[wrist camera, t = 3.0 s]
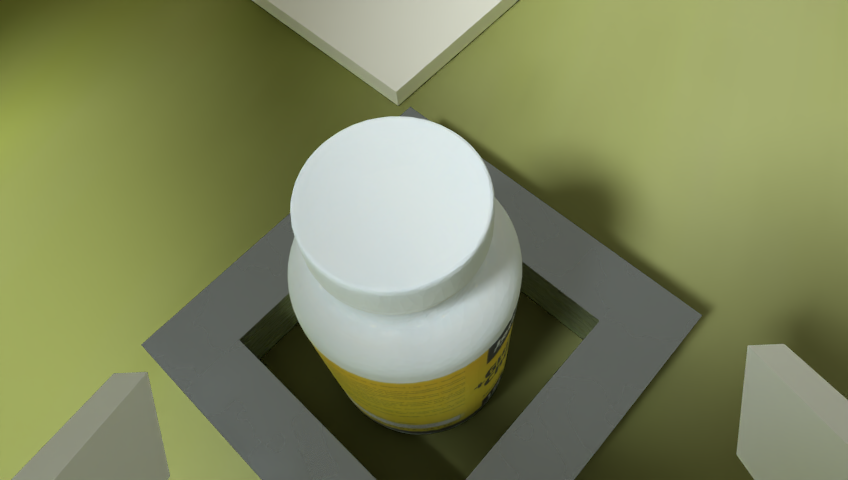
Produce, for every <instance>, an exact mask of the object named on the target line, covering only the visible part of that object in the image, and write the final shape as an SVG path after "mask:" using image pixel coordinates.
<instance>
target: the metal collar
mask: <svg viewBox="0 0 848 480" xmlns="http://www.w3.org/2000/svg"><path fill="white" fill-rule="evenodd" d="M400 116H404V117H414V118H419V119H425V120H428V119H427V118H425V117H424V116H422V115H421V114H420V113H418V112H417V111H415V110H414V109H413V108H411V107H409V108H408V109H407V110H406V111H405V112H404V113H403V114H402V115H400ZM428 121H429V120H428ZM482 160H483V161H484V163H485V165H486V167H487V169H488V171H489V174H490V176H491V180H492V184H493V188H494V194H495V198H496V199H497V200H498V201H499V203H500V204H501V205H502V207H503V208H504V210H505V211H506V213H507V214H508V216H509V218H510V220H511V222H512V224H513V226H514V228H515V231H516V234H517V237H518V240H519V244H520V249H521V256H522V281H521V288H520V290H521V291H522V292H523V293H525V294H526V295H527V296H528V297H530V298H531V299H532V300H533V301H535V302H536V303H537V304H539V305H540V306H541V307H542V308H544V309H545V310H546V311H547V312H549V313H550V314H551V315H552V316H554V317H555V318H556V319H558V320H559V321H560V322H561V323H563V324H564V325H565V326H566V327H568V328H569V329H570V330H572V331H573V332H574V333H575V334H577V335H578V336H579V337H580V338H582V339H583V341H582V342H581V343H580V345H579V346H578V347H577V348H576V349H575V350H574V352H573V353H572V354H571V355H570V356H569V358H568V359H567V360H566V361H565V362H564V364H563V365H562V366H561V367H560V368H559V369H558V371H557V372H556V373H555V374H554V375H553V377H552V378H551V379H550V380H549V381H548V382H547V384H546V385H545V386H544V387H543V388H542V390H541V391H540V392H539V393H538V394H537V396H536V397H535V398H534V399H533V400H532V401H531V403H530V404H529V405H528V406H527V407H526V409H525V410H524V411H523V412H522V413H521V414H520V416H519V417H518V418H517V419H516V420H515V422H514V423H513V424H512V425H511V426H510V427H509V429H508V430H507V431H506V432H505V433H504V435H503V436H502V437H501V438H500V439H499V441H498V442H497V443H496V444H495V445H494V446H493V448H492V449H491V450H490V451H489V452H488V454H487V455H486V456H485V457H484V458H483V459H482V461H481V462H480V463H479V464H478V465H477V467H476V468H475V469H474V470H473V471H472V473H471V474H470V475H469V476H468V477H467V478H466V480H574V479H575V478H576V477H577V475H578V474H579V473H580V472H581V470H582V469H583V468H584V466H585V465H586V464H587V463H588V461H589V460H590V459H591V457H592V456H593V455H594V454H595V452H596V451H597V450H598V448H599V447H600V446H601V445H602V443H603V442H604V441H605V439H606V438H607V437H608V436H609V434H610V433H611V432H612V431H613V429H614V428H615V427H616V425H617V424H618V423H619V422H620V420H621V419H622V418H623V416H624V415H625V414H626V413H627V411H628V410H629V409H630V407H631V406H632V405H633V404H634V402H635V401H636V400H637V398H638V397H639V396H640V395H641V393H642V392H643V391H644V389H645V388H646V387H647V386H648V384H649V383H650V382H651V380H652V379H653V378H654V377H655V375H656V374H657V373H658V371H659V370H660V369H661V368H662V366H663V365H664V364H665V362H666V361H667V360H668V359H669V357H670V356H671V355H672V353H673V352H674V351H675V350H676V348H677V347H678V346H679V344H680V343H681V342H682V341H683V339H684V338H685V337H686V335H687V334H688V333H689V332H690V330H691V329H692V328H693V327H694V325H695V324H696V323H697V321H698V320H699V319H700V318H701V316H702V315H701V314H700V313H698V312H697V311H695V310H694V309H693V308H691V307H690V306H688V305H687V304H686V303H684V302H683V301H681V300H680V299H679V298H677V297H676V296H674V295H673V294H672V293H670V292H669V291H667V290H666V289H665V288H663V287H662V286H660V285H659V284H658V283H656V282H655V281H653V280H652V279H651V278H649V277H648V276H646V275H645V274H644V273H642V272H641V271H639V270H638V269H637V268H635V267H634V266H632V265H631V264H630V263H628V262H627V261H625V260H624V259H623V258H621V257H620V256H618V255H617V254H616V253H614V252H613V251H611V250H610V249H609V248H607V247H606V246H604V245H603V244H602V243H600V242H599V241H597V240H596V239H595V238H593V237H592V236H590V235H589V234H588V233H586V232H585V231H583V230H582V229H581V228H579V227H578V226H576V225H575V224H574V223H572V222H571V221H569V220H568V219H567V218H565V217H564V216H562V215H561V214H560V213H558V212H557V211H555V210H554V209H553V208H551V207H550V206H548V205H547V204H546V203H544V202H543V201H541V200H540V199H539V198H537V197H536V196H534V195H533V194H532V193H530V192H529V191H527V190H526V189H525V188H523V187H522V186H520V185H519V184H518V183H516V182H515V181H513V180H512V179H511V178H509V177H508V176H506V175H505V174H504V173H502V172H501V171H499V170H498V169H497V168H495V167H494V166H492V165H491V164H490V163H488V162H487V161H485V160H484V159H483V158H482ZM294 237H295V236H294V233H293V229H292V224H291V214H289V215H287V216H286V217H285V218H284V219H283V220H282V221H281V222H279V223H278V224H277V225H276V226H275V227H274V228H273V229H272V230H270V231H269V232H268V233H267V234H266V235H265V236H264V237H263V238H261V239H260V240H259V241H258V242H257V243H256V244H255V245H253V246H252V247H251V248H250V249H249V250H248V251H247V252H246V253H244V254H243V255H242V256H241V257H240V258H239V259H238V260H237V261H235V262H234V263H233V264H232V265H231V266H230V267H229V268H228V269H226V270H225V271H224V272H223V273H222V274H221V275H220V276H218V277H217V278H216V279H215V280H214V281H213V282H212V283H211V284H209V285H208V286H207V287H206V288H205V289H204V290H203V291H202V292H200V293H199V294H198V295H197V296H196V297H195V298H194V299H192V300H191V301H190V302H189V303H188V304H187V305H186V306H185V307H183V308H182V309H181V310H180V311H179V312H178V313H177V314H176V315H174V316H173V317H172V318H171V319H170V320H169V321H168V322H166V323H165V324H164V325H163V326H162V327H161V328H160V329H159V330H157V331H156V332H155V333H154V334H153V335H152V336H151V337H150V338H148V339H147V340H146V341H145V342H144V343H143V344H142V346H143V347H144V348H145V350H146V351H147V352H148V353H149V354H150V355H151V356H152V357H153V359H154V360H155V361H156V362H157V363H158V364H159V365H160V366H161V368H162V369H163V370H164V371H165V372H166V373H167V374H168V375H169V376H170V378H171V379H172V380H173V381H174V382H175V383H176V384H177V385H178V387H179V388H180V389H181V390H182V391H183V392H184V393H185V394H186V395H187V397H188V398H189V399H190V400H191V401H192V402H193V403H194V404H195V406H196V407H197V408H198V409H199V410H200V411H201V412H202V413H203V415H204V416H205V417H206V418H207V419H208V420H209V421H210V422H211V423H212V425H213V426H214V427H215V428H216V429H217V430H218V431H219V432H220V434H221V435H222V436H223V437H224V438H225V439H226V440H227V441H228V442H229V444H230V445H231V446H232V447H233V448H234V449H235V450H236V451H237V453H238V454H239V455H240V456H241V457H242V458H243V459H244V460H245V462H246V463H247V464H248V465H249V466H250V467H251V468H252V469H253V470H254V472H255V473H256V474H257V475H258V476H259V477H260V478H261V479H262V480H377V479H376V478H375V477H374V476H373V475H372V474H371V473H370V472H369V471H368V470H367V469H366V468H365V467H364V466H363V465H362V464H361V463H360V462H359V461H358V460H357V459H356V458H355V457H354V456H353V455H352V454H351V453H350V452H349V451H348V450H347V449H346V448H345V447H344V446H343V445H342V444H341V443H340V441H339V440H338V439H337V438H336V437H335V436H334V435H333V434H332V433H331V432H330V431H329V430H328V429H327V428H326V427H325V426H324V425H323V424H322V423H321V422H320V421H319V420H318V419H317V418H316V417H315V416H314V415H313V414H312V413H311V412H310V411H309V410H308V409H307V408H306V407H305V406H304V405H303V404H302V403H301V402H300V401H299V400H298V399H297V398H296V397H295V396H294V395H293V394H292V393H291V392H290V390H289V389H288V388H287V387H286V386H285V385H284V384H283V383H282V382H281V381H280V380H279V379H278V378H277V377H276V376H275V375H274V374H273V373H272V372H271V371H270V370H269V369H268V368H267V367H266V366H265V365H264V364H263V363H262V362H261V361H260V360H259V359H260V358H261V357H262V356H263V355H265V354H266V353H267V352H268V351H269V350H270V349H271V348H272V347H273V346H274V345H275V344H276V343H277V342H278V341H279V340H280V339H281V338H282V337H283V336H284V335H285V334H286V333H287V332H289V331H290V330H291V329H292V328H293V327H294V326H295V325H296V324H297V323H298V322H299V321H298V319H297V317H296V315H295V312H294V310H293V307H292V303H291V300H290V295H289V289H288V261H289V255H290V250H291V246H292V243H293V240H294Z"/></svg>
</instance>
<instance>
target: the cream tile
mask: <svg viewBox="0 0 848 480" xmlns="http://www.w3.org/2000/svg"><path fill="white" fill-rule="evenodd" d="M252 1H253V2H255V3H256V4H257V5H259V6H260V7H262V8H263V9H264V10H266V11H267V12H269V13H270V14H271V15H273V16H274V17H276V18H277V19H278V20H280V21H281V22H282V23H284V24H285V25H287V26H288V27H289V28H291V29H292V30H294V31H295V32H296V33H298V34H299V35H300V36H302V37H303V38H305V39H306V40H307V41H309V42H310V43H312V44H313V45H314V46H316V47H317V48H319V49H320V50H321V51H323V52H324V53H325V54H327V55H328V56H330V57H331V58H332V59H334V60H335V61H337V62H338V63H339V64H341V65H342V66H344V67H345V68H346V69H348V70H349V71H350V72H352V73H353V74H355V75H356V76H357V77H359V78H360V79H362V80H363V81H364V82H366V83H367V84H369V85H370V86H371V87H373V88H374V89H375V90H377V91H378V92H380V93H381V94H382V95H384V96H385V97H387V98H388V99H389V100H391V101H392V102H394V103H395V104H396V105H400V104H401V103H402V102H403V101H404V100H405V99H406V98H408V97H409V96H410V95H411V94H412V93H413V92H414V91H416V90H417V89H418V88H419V87H420V86H421V85H422V84H424V83H425V82H426V81H427V80H428V79H429V78H430V77H432V76H433V75H434V74H435V73H436V72H437V71H438V70H440V69H441V68H442V67H443V66H444V65H445V64H446V63H448V62H449V61H450V60H451V59H452V58H453V57H454V56H456V55H457V54H458V53H459V52H460V51H461V50H462V49H463V48H465V47H466V46H467V45H468V44H469V43H470V42H471V41H473V40H474V39H475V38H476V37H477V36H478V35H479V34H481V33H482V32H483V31H484V30H485V29H486V28H487V27H489V26H490V25H491V24H492V23H493V22H494V21H495V20H497V19H498V18H499V17H500V16H501V15H502V14H503V13H505V12H506V11H507V10H508V9H509V8H510V7H511V6H513V5H514V4H515V3H516V2H517V1H518V0H252Z"/></svg>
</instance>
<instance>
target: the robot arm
mask: <svg viewBox="0 0 848 480" xmlns="http://www.w3.org/2000/svg"><path fill="white" fill-rule="evenodd" d="M736 455H737V456H738V458H739V459H740V460H741V462H742V463H743V465H744V466H745V467H746V469H747V470H748V472H749V473H750V474H751V476H752V477H753V478H754V480H848V400H847V399H846V398H845V397H844V396H842V395H841V394H840V393H839V392H838V391H837V390H836V389H835V388H833V387H832V386H831V385H830V384H829V383H828V382H827V381H826V380H824V379H823V378H822V377H821V376H820V375H819V374H818V373H817V372H815V371H814V370H813V369H812V368H811V367H810V366H809V365H807V364H806V363H805V362H804V361H803V360H802V359H801V358H800V357H798V356H797V355H796V354H795V353H794V352H793V351H792V350H791V349H789V348H788V347H787V346H786V345H785V344H769V345H748V347H747V357H746V367H745V376H744V386H743V395H742V405H741V415H740V424H739V434H738V443H737V453H736ZM169 477H170V473H169V469H168V464H167V460H166V455H165V450H164V446H163V441H162V437H161V432H160V427H159V423H158V418H157V414H156V409H155V404H154V400H153V395H152V391H151V386H150V381H149V377H148V372H136V373H114V374H113V375H112V376H111V377H110V378H109V379H108V380H107V381H106V382H105V383H104V384H103V385H102V386H101V387H100V388H99V389H98V390H97V391H96V392H95V393H94V394H93V396H92V397H91V398H90V399H89V400H88V401H87V402H86V403H85V404H84V405H83V406H82V407H81V408H80V409H79V410H78V411H77V412H76V413H75V414H74V415H73V416H72V417H71V418H70V419H69V420H68V421H67V422H66V424H65V425H64V426H63V427H62V428H61V429H60V430H59V431H58V432H57V433H56V434H55V435H54V436H53V437H52V438H51V439H50V440H49V441H48V442H47V443H46V444H45V445H44V446H43V447H42V448H41V449H40V450H39V451H38V453H37V454H36V455H35V456H34V457H33V458H32V459H31V460H30V461H29V462H28V463H27V464H26V465H25V466H24V467H23V468H22V469H21V470H20V471H19V472H18V473H17V474H16V475H15V476H14V477H13V478H12V479H11V480H168V478H169Z"/></svg>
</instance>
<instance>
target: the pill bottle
mask: <svg viewBox="0 0 848 480" xmlns="http://www.w3.org/2000/svg"><path fill="white" fill-rule="evenodd" d="M290 214H291V224H292V229H293V233H294V236H295V237H294V240H293V243H292V246H291V250H290V255H289V261H288V289H289V295H290V300H291V303H292V307H293V310H294V312H295V315H296V317H297V319H298V321H299V323H300V325H301V327H302V329H303V331H304V332H305V334H306V336H307V337H308V339H309V340H310V342H311V343H312V344H313V346H314V347H315V349H316V350H317V352H318V353H319V355H320V356H321V358H322V359H323V361H324V362H325V364H326V365H327V367H328V368H329V370H330V371H331V373H332V374H333V376H334V377H335V378H336V380H337V381H338V383H339V384H340V385H341V387H342V388H343V390H344V391H345V392H346V394H347V395H348V397H349V398H350V399H351V401H352V402H353V403H354V404H355V406H356V407H357V408H358V409H359V410H360V411H361V412H362V413H364V414H365V415H366V416H367V417H369V418H370V419H371V420H373V421H374V422H376V423H378V424H380V425H382V426H384V427H386V428H389V429H392V430H395V431H398V432H403V433H408V434H432V433H437V432H441V431H445V430H448V429H451V428H453V427H456V426H458V425H460V424H462V423H463V422H465V421H467V420H468V419H470V418H471V417H472V416H474V415H475V414H476V413H477V412H478V411H479V410H480V409H481V408H482V407H483V406H484V405H485V404H486V403H487V401H488V400H489V399H490V398H491V396H492V395H493V393H494V392H495V390H496V388H497V386H498V384H499V382H500V380H501V377H502V375H503V371H504V367H505V363H506V357H507V352H508V347H509V342H510V337H511V332H512V326H513V321H514V317H515V313H516V309H517V304H518V299H519V295H520V288H521V281H522V256H521V249H520V244H519V240H518V237H517V234H516V231H515V228H514V226H513V224H512V222H511V220H510V218H509V216H508V214H507V213H506V211H505V210H504V208H503V207H502V205H501V204H500V203H499V201H498V200H497V199H496V198H495V194H494V188H493V184H492V180H491V176H490V174H489V171H488V169H487V167H486V165H485V163H484V161H483V160H482V158H481V157H480V155H479V154H478V153H477V151H476V150H475V149H474V148H473V147H472V146H471V145H470V144H469V143H468V142H467V141H466V140H465V139H463V138H462V137H461V136H459V135H458V134H457V133H455V132H453V131H452V130H450V129H448V128H446V127H444V126H442V125H440V124H437V123H435V122H431V121H428V120H425V119H419V118H414V117H404V116H389V117H381V118H375V119H370V120H366V121H363V122H360V123H357V124H354V125H352V126H349V127H347V128H345V129H343V130H341V131H340V132H338V133H336V134H335V135H333V136H332V137H331V138H329V139H328V140H326V141H325V142H324V143H323V144H321V145H320V146H319V147H318V148H317V149H316V150H315V151H314V152H313V154H312V155H311V156H310V157H309V158H308V160H307V161H306V163H305V164H304V166H303V167H302V169H301V171H300V173H299V175H298V177H297V179H296V182H295V185H294V188H293V192H292V197H291V205H290Z"/></svg>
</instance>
